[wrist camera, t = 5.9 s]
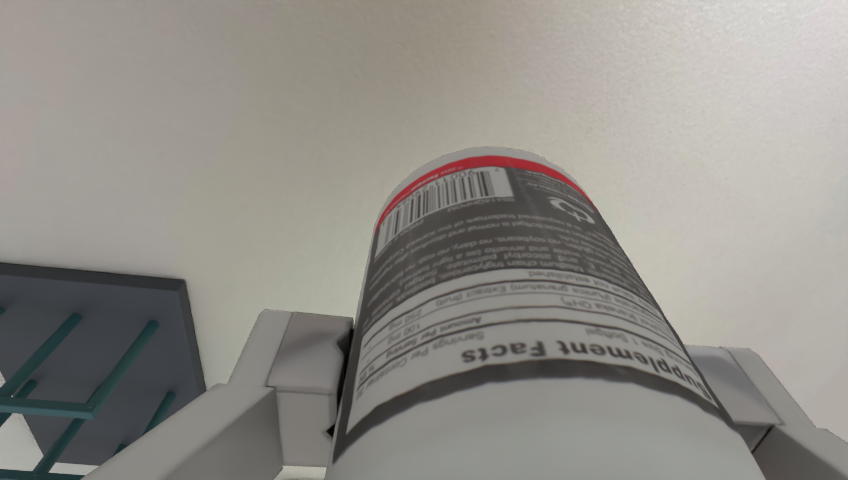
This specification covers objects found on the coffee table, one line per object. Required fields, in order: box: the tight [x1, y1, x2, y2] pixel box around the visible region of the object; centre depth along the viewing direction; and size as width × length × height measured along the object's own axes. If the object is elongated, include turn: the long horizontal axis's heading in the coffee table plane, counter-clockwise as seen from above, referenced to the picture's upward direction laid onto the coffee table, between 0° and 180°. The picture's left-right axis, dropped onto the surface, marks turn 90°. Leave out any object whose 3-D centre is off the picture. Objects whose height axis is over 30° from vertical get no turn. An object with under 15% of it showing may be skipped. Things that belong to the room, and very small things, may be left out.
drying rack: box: [0, 263, 206, 480], centre depth 33 cm, size 20×14×8 cm
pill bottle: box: [324, 147, 766, 480], centre depth 7 cm, size 5×5×10 cm
